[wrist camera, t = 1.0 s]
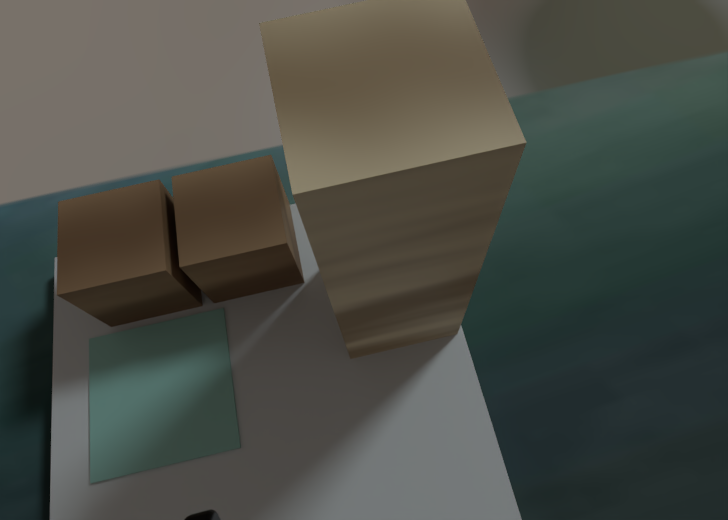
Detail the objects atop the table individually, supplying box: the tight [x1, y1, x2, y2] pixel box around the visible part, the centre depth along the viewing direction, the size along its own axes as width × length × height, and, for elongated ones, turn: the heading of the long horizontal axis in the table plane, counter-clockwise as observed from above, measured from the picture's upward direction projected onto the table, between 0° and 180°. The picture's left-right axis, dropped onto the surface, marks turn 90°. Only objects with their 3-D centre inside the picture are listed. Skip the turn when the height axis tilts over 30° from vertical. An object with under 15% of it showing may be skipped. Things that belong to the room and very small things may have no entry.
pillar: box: [259, 0, 526, 359], centre depth 17 cm, size 4×4×13 cm
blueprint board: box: [50, 204, 522, 520], centre depth 21 cm, size 22×17×1 cm
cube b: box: [172, 155, 305, 303], centre depth 22 cm, size 4×4×4 cm
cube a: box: [57, 180, 203, 327], centre depth 22 cm, size 4×4×4 cm
